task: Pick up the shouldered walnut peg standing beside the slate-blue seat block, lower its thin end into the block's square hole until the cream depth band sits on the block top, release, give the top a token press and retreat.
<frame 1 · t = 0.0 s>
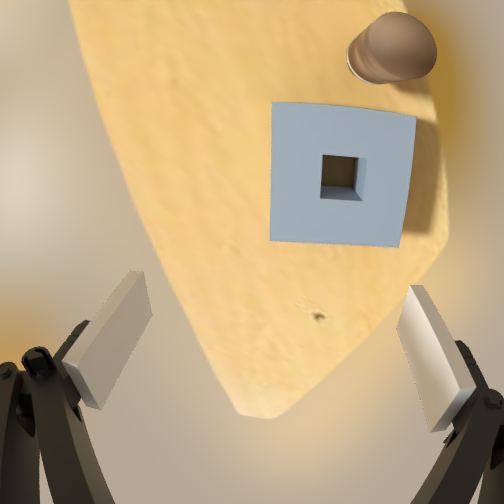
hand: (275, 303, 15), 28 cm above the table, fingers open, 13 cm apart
seat block: (335, 167, 38), on the table
peg: (363, 63, 32), on the table
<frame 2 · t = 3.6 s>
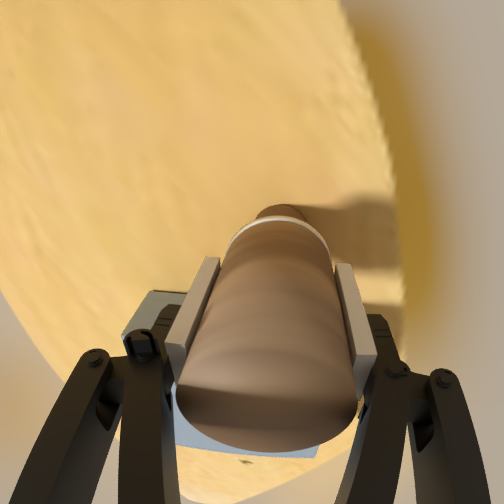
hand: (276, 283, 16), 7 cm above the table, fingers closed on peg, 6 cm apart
seat block: (242, 364, 29), on the table
peg: (280, 231, 23), on the table, touching gripper
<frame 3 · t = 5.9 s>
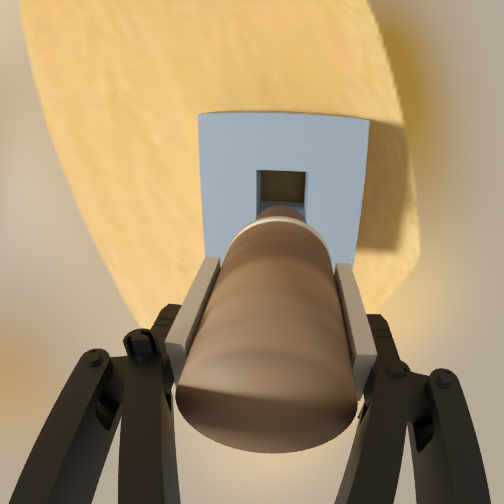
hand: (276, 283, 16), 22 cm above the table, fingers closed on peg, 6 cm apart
seat block: (282, 180, 36), on the table
peg: (280, 232, 23), point 15 cm above the table, touching gripper
when the fingers open (9 cm above the table, at t = 8.2 s): peg drops 1 cm, resting on seat block.
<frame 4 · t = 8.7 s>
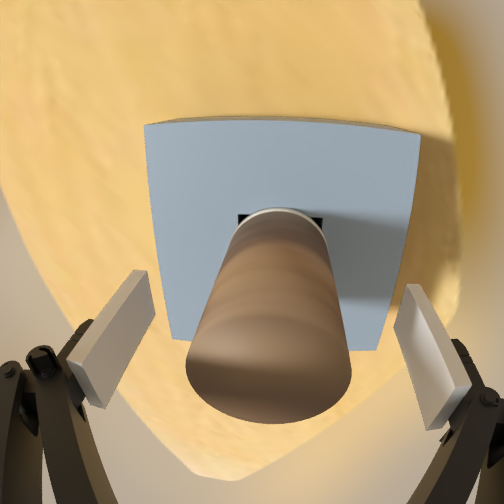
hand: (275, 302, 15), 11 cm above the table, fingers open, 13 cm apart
seat block: (281, 219, 25), on the table
peg: (280, 224, 24), point 1 cm above the table, touching seat block
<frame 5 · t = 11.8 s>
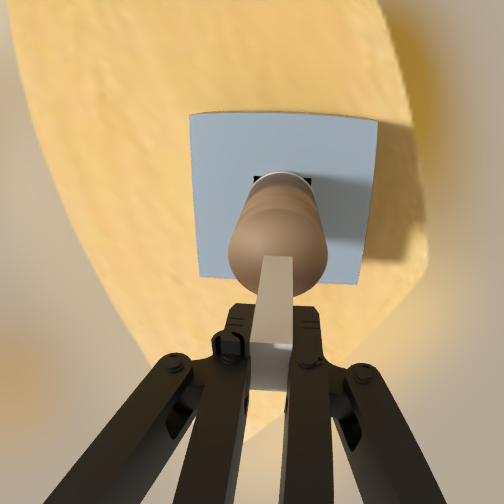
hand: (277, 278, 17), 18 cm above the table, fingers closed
seat block: (282, 186, 33), on the table
peg: (282, 189, 32), point 1 cm above the table, touching seat block
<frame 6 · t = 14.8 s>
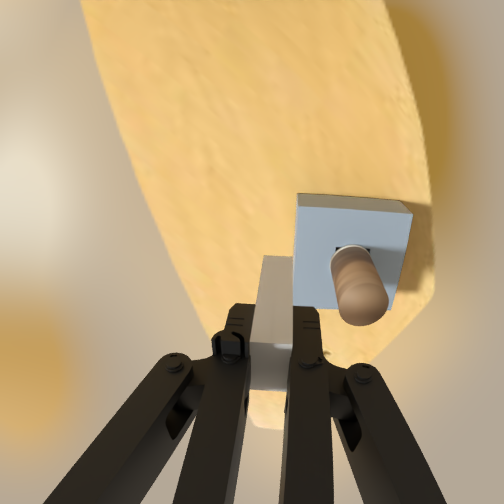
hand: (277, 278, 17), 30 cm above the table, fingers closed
seat block: (344, 245, 48), on the table
peg: (345, 248, 47), point 1 cm above the table, touching seat block
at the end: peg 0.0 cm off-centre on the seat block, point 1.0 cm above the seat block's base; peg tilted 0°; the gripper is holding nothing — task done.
